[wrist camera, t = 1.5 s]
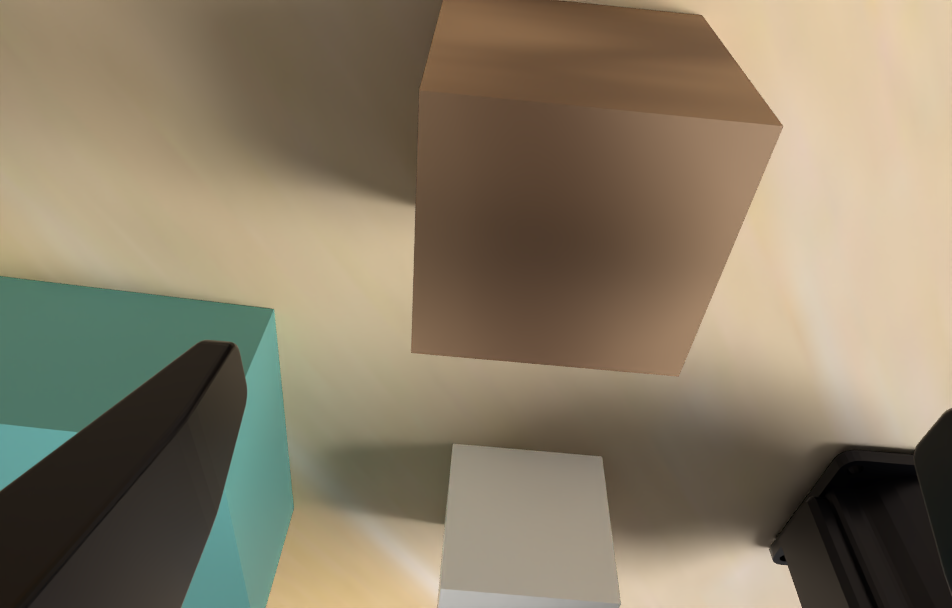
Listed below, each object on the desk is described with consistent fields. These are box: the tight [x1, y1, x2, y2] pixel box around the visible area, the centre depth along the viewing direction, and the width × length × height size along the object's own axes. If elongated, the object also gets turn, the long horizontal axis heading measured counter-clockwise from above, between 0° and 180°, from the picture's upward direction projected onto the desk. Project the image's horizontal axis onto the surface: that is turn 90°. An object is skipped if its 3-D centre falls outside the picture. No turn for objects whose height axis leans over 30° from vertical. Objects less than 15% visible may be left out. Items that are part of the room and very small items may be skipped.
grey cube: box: [437, 444, 621, 608], centre depth 21 cm, size 5×5×5 cm
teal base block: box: [0, 276, 294, 608], centre depth 19 cm, size 10×10×5 cm
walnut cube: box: [411, 0, 783, 376], centre depth 12 cm, size 5×5×5 cm
